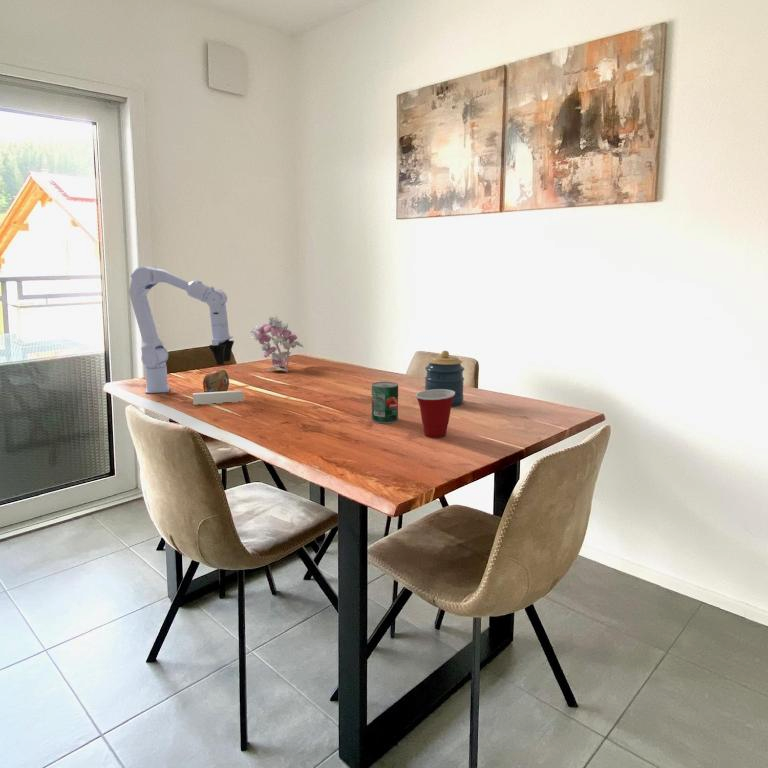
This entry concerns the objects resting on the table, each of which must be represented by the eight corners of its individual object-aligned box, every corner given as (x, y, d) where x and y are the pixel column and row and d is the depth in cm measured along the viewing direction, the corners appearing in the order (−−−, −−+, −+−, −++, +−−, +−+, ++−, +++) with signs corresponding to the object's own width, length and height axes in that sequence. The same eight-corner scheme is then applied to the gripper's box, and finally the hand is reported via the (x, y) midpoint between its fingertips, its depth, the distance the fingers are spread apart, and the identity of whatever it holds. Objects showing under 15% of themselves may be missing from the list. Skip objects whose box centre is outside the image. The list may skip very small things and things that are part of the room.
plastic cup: (412, 430, 171) (412, 388, 169) (450, 429, 172) (451, 387, 170) (417, 441, 160) (418, 396, 158) (457, 440, 161) (459, 396, 159)
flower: (321, 364, 268) (301, 312, 270) (293, 367, 247) (272, 311, 249) (285, 381, 276) (267, 330, 278) (256, 385, 255) (236, 330, 257)
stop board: (193, 403, 201) (192, 393, 200) (242, 400, 206) (242, 390, 205) (193, 404, 199) (192, 394, 198) (243, 401, 204) (242, 391, 203)
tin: (210, 400, 207) (209, 375, 205) (202, 399, 207) (200, 375, 206) (230, 391, 221) (229, 368, 219) (222, 390, 222) (221, 367, 220)
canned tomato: (372, 416, 185) (372, 381, 183) (398, 417, 185) (398, 381, 183) (370, 423, 178) (370, 386, 176) (397, 423, 177) (398, 386, 175)
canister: (419, 405, 200) (420, 352, 197) (430, 397, 212) (431, 347, 209) (458, 408, 196) (459, 354, 193) (467, 400, 208) (468, 349, 205)
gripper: (224, 326, 207) (228, 365, 210) (236, 322, 222) (240, 358, 224) (204, 327, 208) (208, 366, 210) (217, 323, 222) (221, 359, 225)
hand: (223, 362), depth 217 cm, fingers open, 7 cm apart
